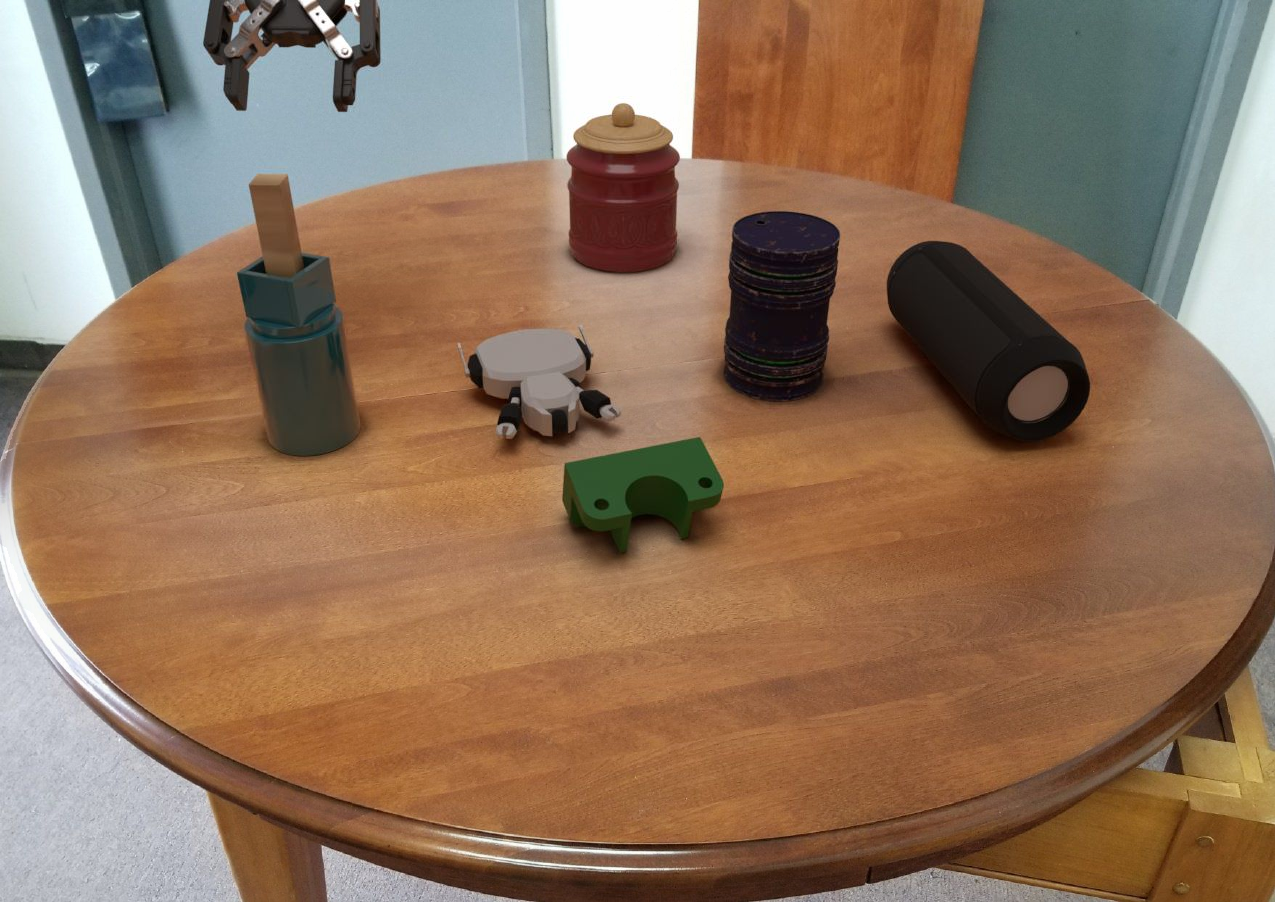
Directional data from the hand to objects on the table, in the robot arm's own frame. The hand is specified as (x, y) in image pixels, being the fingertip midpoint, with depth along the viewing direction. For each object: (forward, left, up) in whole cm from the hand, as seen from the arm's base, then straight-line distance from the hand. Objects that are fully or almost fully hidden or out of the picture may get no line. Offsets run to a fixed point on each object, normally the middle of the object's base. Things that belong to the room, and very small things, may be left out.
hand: (289, 106), depth 90 cm
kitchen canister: (+16, +38, -26) cm, 48 cm away
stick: (+4, -9, -14) cm, 17 cm away
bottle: (+4, -9, -26) cm, 28 cm away
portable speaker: (+58, +21, -26) cm, 67 cm away
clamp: (+36, -12, -26) cm, 46 cm away
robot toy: (+21, +2, -26) cm, 33 cm away
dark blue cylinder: (+40, +15, -26) cm, 50 cm away
